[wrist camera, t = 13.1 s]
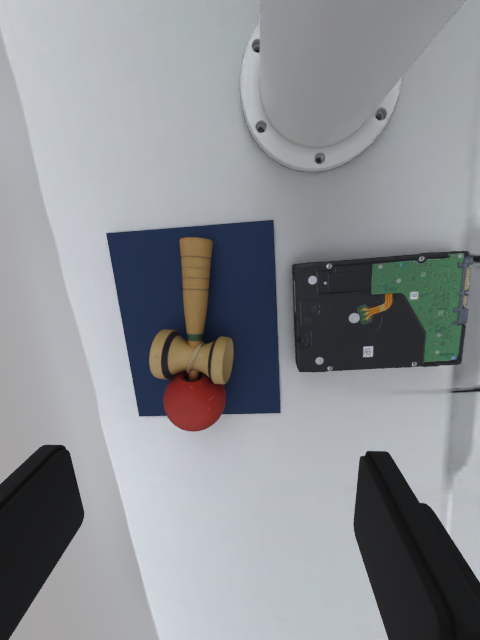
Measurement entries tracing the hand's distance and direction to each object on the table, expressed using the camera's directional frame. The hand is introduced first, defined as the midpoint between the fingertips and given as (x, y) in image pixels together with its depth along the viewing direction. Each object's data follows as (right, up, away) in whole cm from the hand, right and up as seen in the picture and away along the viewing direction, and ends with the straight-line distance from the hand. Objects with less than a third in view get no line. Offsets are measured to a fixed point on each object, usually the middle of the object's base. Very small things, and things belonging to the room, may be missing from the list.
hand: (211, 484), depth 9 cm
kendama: (-3, +4, +20) cm, 20 cm away
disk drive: (+14, +6, +18) cm, 24 cm away
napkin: (-3, +4, +20) cm, 21 cm away
